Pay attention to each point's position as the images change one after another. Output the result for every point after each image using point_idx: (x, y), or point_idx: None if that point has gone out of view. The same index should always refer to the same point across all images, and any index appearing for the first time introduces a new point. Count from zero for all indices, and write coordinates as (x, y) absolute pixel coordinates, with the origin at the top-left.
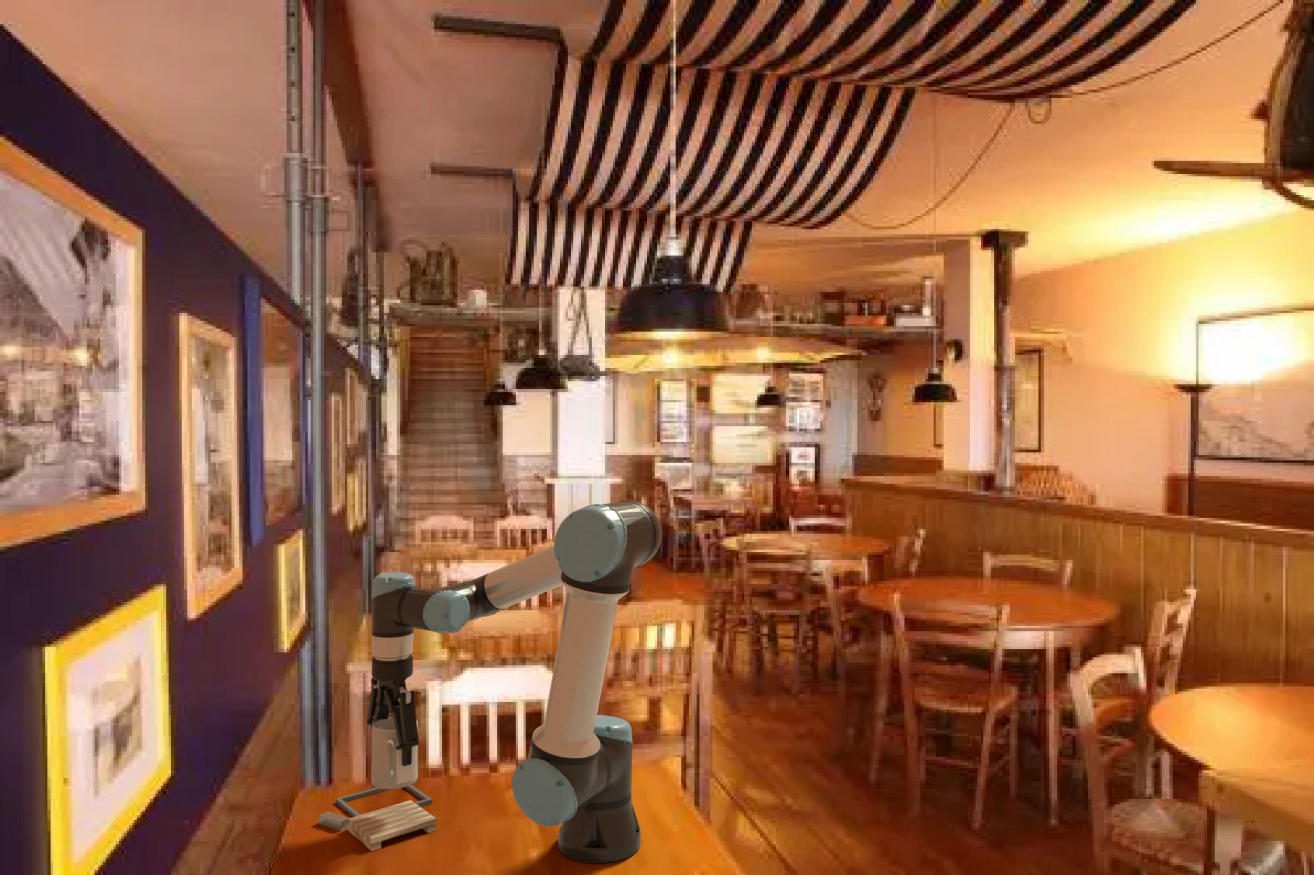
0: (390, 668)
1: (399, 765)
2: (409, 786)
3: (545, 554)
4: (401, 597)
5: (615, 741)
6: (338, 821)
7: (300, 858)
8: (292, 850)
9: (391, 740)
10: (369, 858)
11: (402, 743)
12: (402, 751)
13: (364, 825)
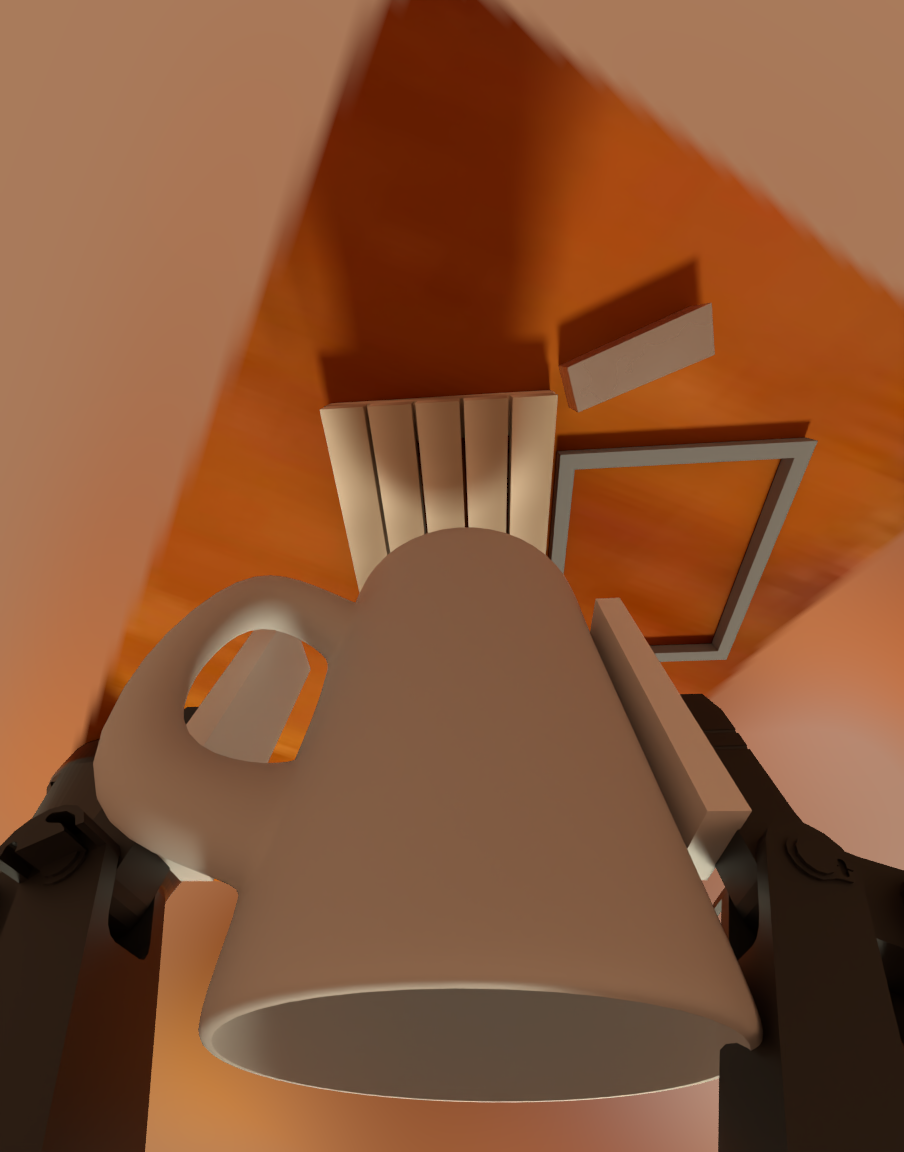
0: None
1: (214, 694)
2: (671, 654)
3: None
4: None
5: None
6: (583, 359)
7: (420, 72)
8: (530, 60)
9: (198, 870)
10: (279, 376)
11: (20, 902)
12: None
13: (451, 430)
